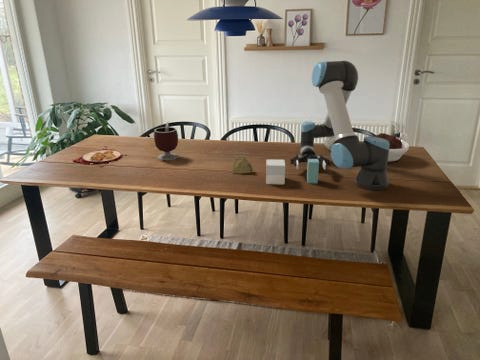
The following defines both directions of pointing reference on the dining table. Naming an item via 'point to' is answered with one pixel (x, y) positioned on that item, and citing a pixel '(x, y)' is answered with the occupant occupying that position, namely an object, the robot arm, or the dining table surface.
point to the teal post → (312, 170)
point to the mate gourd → (166, 141)
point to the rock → (242, 165)
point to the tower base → (275, 179)
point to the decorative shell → (329, 142)
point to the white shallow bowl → (394, 146)
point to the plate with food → (100, 156)
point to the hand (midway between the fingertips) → (311, 167)
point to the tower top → (275, 167)
